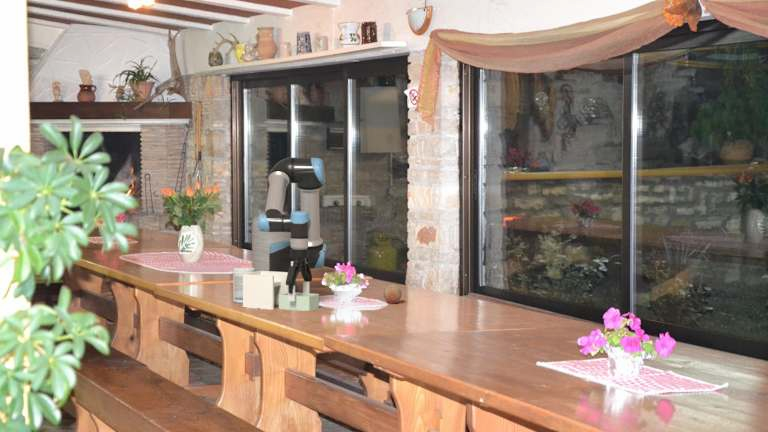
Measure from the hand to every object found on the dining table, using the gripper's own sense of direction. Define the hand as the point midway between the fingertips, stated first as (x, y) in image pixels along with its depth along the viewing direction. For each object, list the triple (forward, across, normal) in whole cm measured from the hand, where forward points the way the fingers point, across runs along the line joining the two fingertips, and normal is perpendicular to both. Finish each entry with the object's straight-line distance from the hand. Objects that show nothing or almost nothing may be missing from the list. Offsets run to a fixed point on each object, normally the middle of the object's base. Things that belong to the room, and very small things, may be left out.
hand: (299, 299), depth 440 cm
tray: (+4, 0, 0) cm, 4 cm away
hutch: (+4, 0, -16) cm, 16 cm away
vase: (+4, -92, -61) cm, 110 cm away
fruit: (+4, -32, +30) cm, 44 cm away
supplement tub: (+4, -6, -30) cm, 30 cm away
